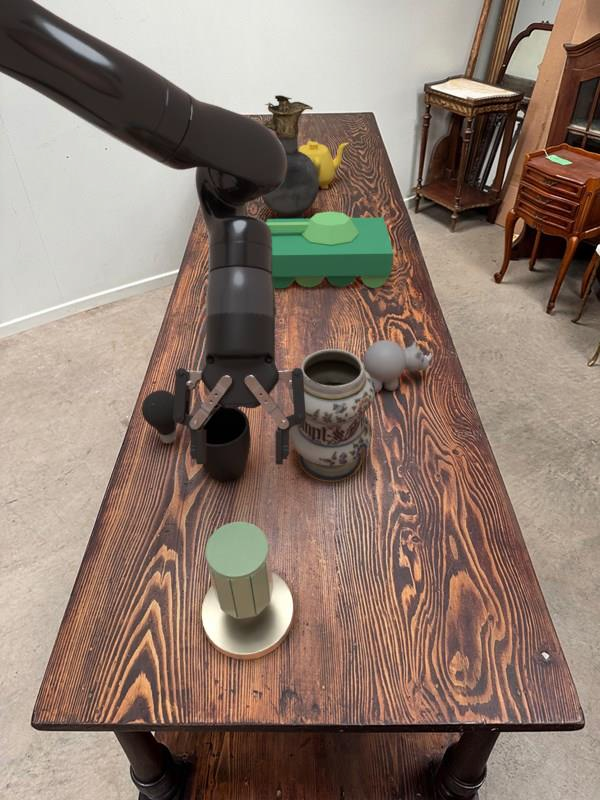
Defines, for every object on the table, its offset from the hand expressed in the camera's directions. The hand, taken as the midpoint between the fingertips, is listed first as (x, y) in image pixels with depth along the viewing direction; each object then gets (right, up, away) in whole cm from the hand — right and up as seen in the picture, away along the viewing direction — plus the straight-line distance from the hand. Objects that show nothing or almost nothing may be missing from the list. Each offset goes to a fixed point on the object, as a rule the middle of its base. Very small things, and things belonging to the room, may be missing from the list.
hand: (240, 464), depth 58 cm
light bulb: (-14, 0, +28) cm, 31 cm away
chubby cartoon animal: (+23, +10, +37) cm, 45 cm away
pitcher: (+2, +56, +87) cm, 104 cm away
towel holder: (0, -19, +7) cm, 20 cm away
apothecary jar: (+11, -2, +25) cm, 27 cm away
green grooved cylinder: (0, -15, +3) cm, 15 cm away
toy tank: (+9, +37, +67) cm, 77 cm away
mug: (-5, -2, +25) cm, 25 cm away
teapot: (+12, +72, +104) cm, 127 cm away
